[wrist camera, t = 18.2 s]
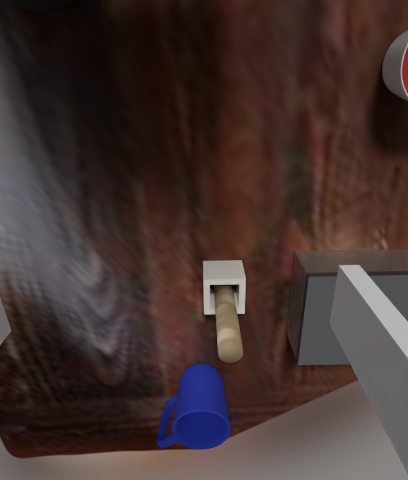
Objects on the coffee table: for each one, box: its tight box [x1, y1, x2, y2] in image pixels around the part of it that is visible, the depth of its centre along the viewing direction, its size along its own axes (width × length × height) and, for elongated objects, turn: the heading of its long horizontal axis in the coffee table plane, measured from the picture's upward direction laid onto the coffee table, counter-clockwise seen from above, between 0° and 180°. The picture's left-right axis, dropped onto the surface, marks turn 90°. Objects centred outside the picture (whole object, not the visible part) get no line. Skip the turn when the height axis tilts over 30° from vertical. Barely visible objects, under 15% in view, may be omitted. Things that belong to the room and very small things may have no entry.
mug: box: [157, 363, 230, 449], centre depth 53 cm, size 8×12×10 cm
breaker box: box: [286, 249, 408, 365], centre depth 48 cm, size 18×14×7 cm
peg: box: [214, 284, 243, 363], centre depth 43 cm, size 3×3×15 cm
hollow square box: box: [203, 260, 246, 314], centre depth 47 cm, size 5×5×5 cm
